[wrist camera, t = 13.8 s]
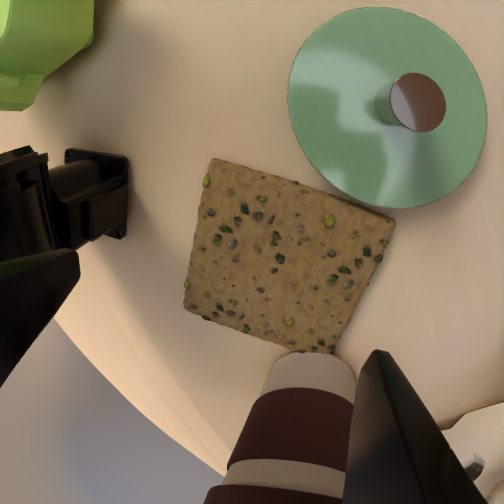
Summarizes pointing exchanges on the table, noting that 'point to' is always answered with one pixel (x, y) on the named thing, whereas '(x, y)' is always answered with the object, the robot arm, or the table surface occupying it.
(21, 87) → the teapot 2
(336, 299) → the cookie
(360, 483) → the robot arm
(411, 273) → the table surface
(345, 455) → the coffee cup
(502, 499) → the bust
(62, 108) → the table surface
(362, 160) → the lid
